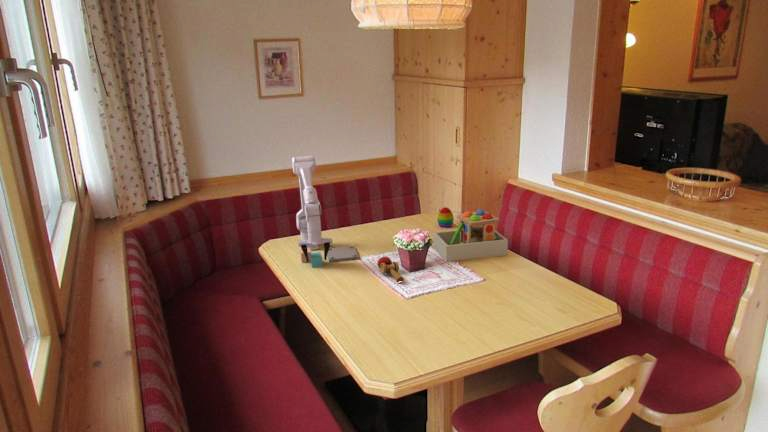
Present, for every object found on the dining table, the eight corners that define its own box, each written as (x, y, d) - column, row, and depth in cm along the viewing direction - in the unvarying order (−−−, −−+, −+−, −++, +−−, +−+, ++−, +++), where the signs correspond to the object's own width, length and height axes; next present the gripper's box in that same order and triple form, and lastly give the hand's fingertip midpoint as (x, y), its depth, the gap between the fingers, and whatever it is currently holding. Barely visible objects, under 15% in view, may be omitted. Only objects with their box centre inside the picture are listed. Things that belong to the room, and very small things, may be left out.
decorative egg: (456, 227, 278) (456, 208, 275) (441, 229, 276) (441, 210, 273) (449, 223, 285) (449, 204, 282) (435, 224, 283) (435, 206, 280)
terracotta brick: (301, 258, 245) (300, 248, 243) (310, 257, 245) (310, 247, 244) (301, 262, 239) (301, 253, 238) (311, 261, 240) (311, 252, 238)
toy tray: (433, 246, 253) (433, 232, 250) (490, 240, 258) (490, 226, 256) (446, 261, 235) (446, 246, 233) (507, 254, 240) (507, 239, 238)
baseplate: (325, 251, 251) (325, 247, 251) (353, 248, 254) (353, 244, 253) (329, 262, 238) (329, 258, 238) (358, 259, 241) (358, 255, 240)
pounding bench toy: (452, 260, 236) (452, 221, 231) (438, 249, 249) (438, 212, 244) (499, 252, 243) (500, 214, 238) (483, 242, 256) (484, 206, 251)
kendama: (410, 284, 217) (391, 263, 232) (408, 271, 214) (389, 250, 229) (393, 290, 215) (374, 269, 230) (391, 277, 212) (372, 257, 227)
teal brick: (311, 262, 239) (310, 253, 237) (321, 261, 240) (320, 252, 238) (312, 267, 233) (311, 258, 232) (322, 266, 234) (322, 257, 233)
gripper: (297, 235, 227) (300, 265, 231) (332, 231, 229) (334, 261, 233) (296, 229, 233) (299, 259, 237) (330, 226, 236) (332, 256, 240)
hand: (316, 260), depth 236 cm, fingers open, 7 cm apart
